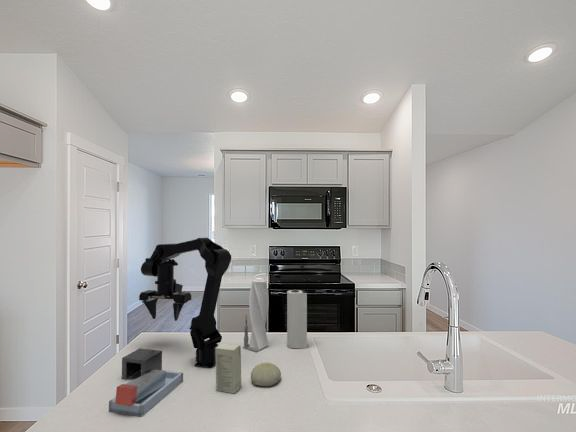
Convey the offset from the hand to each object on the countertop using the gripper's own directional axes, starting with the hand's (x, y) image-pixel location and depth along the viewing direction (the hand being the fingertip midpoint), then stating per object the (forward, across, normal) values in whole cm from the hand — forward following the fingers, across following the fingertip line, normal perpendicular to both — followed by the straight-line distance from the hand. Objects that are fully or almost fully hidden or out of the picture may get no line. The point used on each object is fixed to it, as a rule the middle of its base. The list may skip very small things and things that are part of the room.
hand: (165, 319), depth 120 cm
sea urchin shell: (+12, -43, +12) cm, 46 cm away
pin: (+10, -14, +30) cm, 35 cm away
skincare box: (+12, -34, +19) cm, 41 cm away
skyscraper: (+12, -32, -13) cm, 37 cm away
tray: (+12, -14, +28) cm, 33 cm away
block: (+12, -4, +18) cm, 22 cm away
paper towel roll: (+12, -46, -17) cm, 51 cm away
